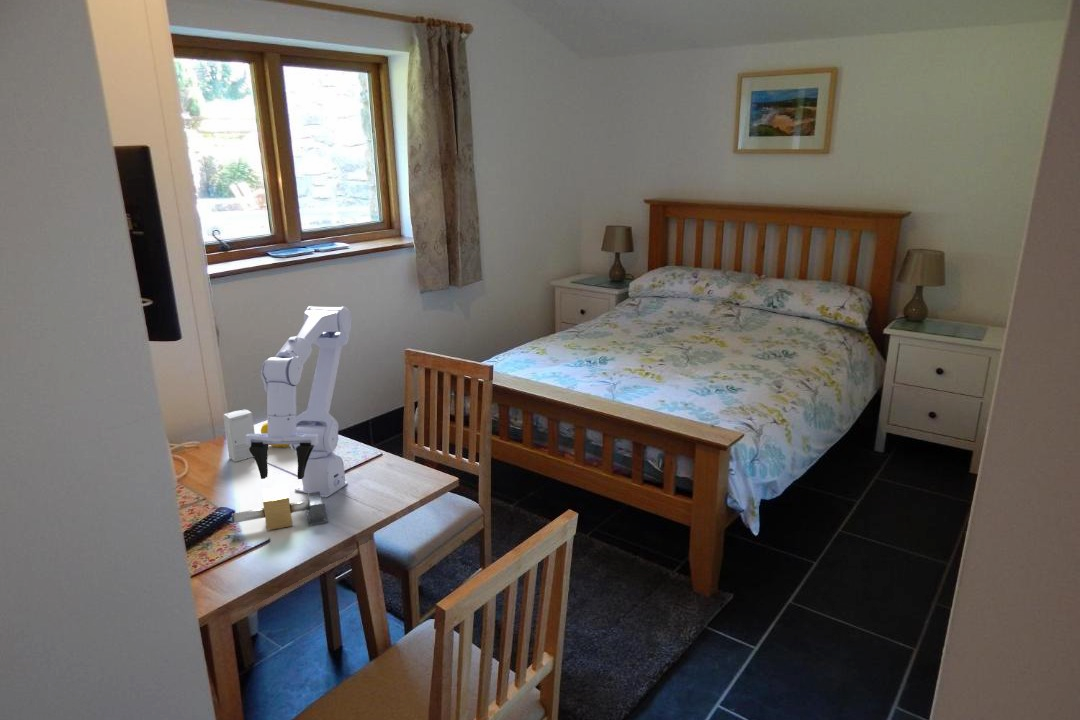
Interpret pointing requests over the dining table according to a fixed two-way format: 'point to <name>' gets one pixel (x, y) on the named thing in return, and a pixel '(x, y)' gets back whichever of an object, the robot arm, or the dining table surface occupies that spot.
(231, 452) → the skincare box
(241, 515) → the shaft outer
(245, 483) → the dining table surface
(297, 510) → the shaft inner
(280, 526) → the block
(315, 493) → the pillow block
